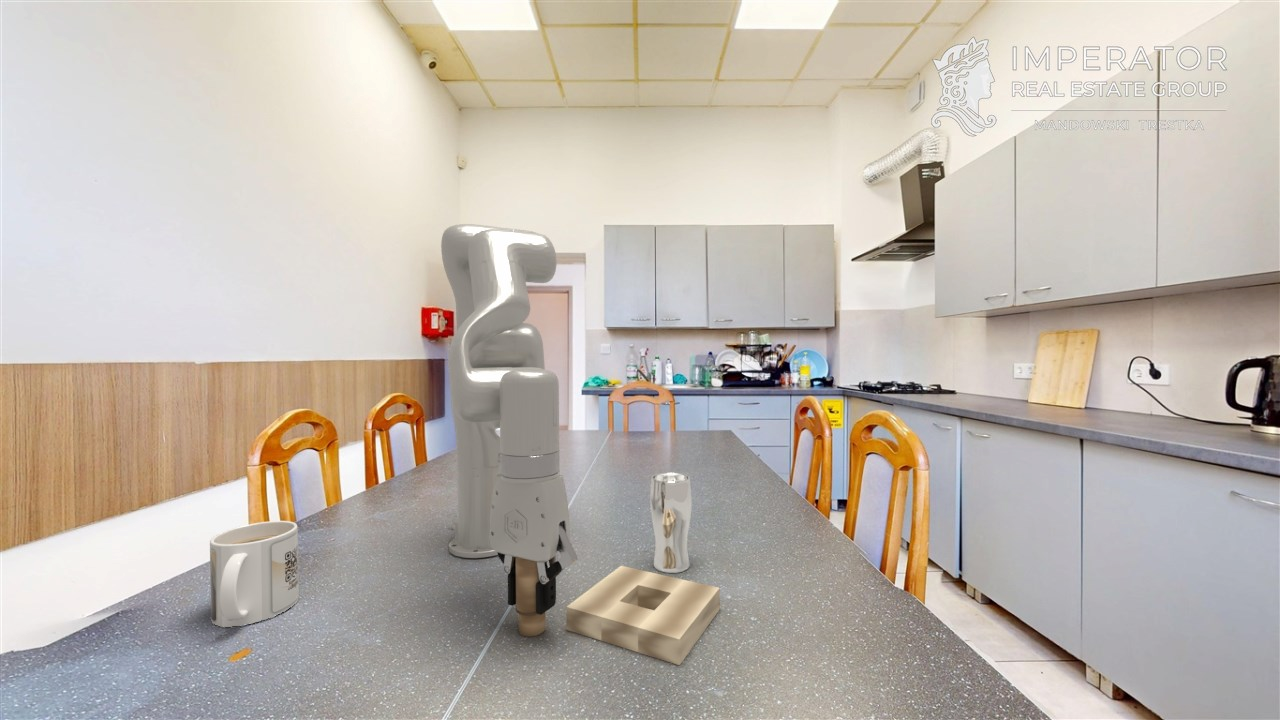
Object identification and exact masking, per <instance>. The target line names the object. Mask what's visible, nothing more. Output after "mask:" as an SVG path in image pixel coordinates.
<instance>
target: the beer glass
mask: <svg viewBox="0 0 1280 720" xmlns="http://www.w3.org/2000/svg"><path fill="white" fill-rule="evenodd" d="M650 478H651V479H650V480H651V481H650V495H649V497H650V498H649V499H650V501H649V503H650V504H649V505H650V506H649V507H650V508H649V509H650V513H651V514H650V517H651V522H652V528H653V533H654V540H655V549H654V550H655V551H654V557H653V558H654V559H653V567H654V569H656V570H657V571H659V572H661V573H667V574H679V573H682V572H685V571H687V570H688V569H689V568H690V560H689V559H690V558H689V554H688V537H689V529H690V524H691V523H690V522H691V518H692V517H691V516H692V488H691V477H690V476H689V475H688V474H686V473H682V472H681V473H680V472H661V473H656V474H653V475H651V477H650Z"/></svg>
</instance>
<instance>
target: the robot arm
mask: <svg viewBox="0 0 1280 720" xmlns="http://www.w3.org/2000/svg"><path fill="white" fill-rule="evenodd" d="M440 244H441V245H440V248H441V259H442V264H443V268H444V272H445V275H446V278H447V280H448V282H449V284H450V285H449V286H450V288H451V290H452V293H453V296H454V301H455V316H456V319H455V320H456V332H455V333H454V336H453V337H452V341H451V344H450V346H449V352H448V362H447V363H448V375H449V376H448V377H449V390H450V391H449V392H450V404H451V413H452V418H453V426H454V430H455V431H454V432H455V441H456V477H457V478H456V481H457V482H456V483H457V485H456V487H457V492H456V493H457V515H456V516H454V517H453V518H452V521H451V522H450V521H449V522H448V523H447V525H446V529H448V530H449V531H454V537H453V538H452V539H451V540H450V542H449V544H448V550H449V552H450V553H451V554H452V555H453V556H455V557H459V558H464V559H482V558H490V557H494V556H497V557H498V558H499V560H500V562H501V563H502V565H503V566H502V568H503V572H504V573H505V575H507V604H508V605H509V606H511V607H514V606H516V557H517V558H521V559H525V560H530V561H534V562H537V567H538V573H539V579H540V581H539V582H537V583H536V612H537V614H540V615H542V614H543V613H545V614H546V612H547V611H549V610H551V609H552V608H553V607H555V605H556V603H557V601H556V600H557V577H558V576H560V574H561V572H563V570H565V569H566V568H568V567H569V566H571V565H573V564H574V563H576V562H577V561H578V555H577V554H576V551H575V549H574V547H573V545H572V543H571V541H570V540H571V527H570V512H569V504H568V503H569V501H568V496H567V489H566V482H565V479H564V475H562V474H561V473H560V471H561V469H560V468H561V467H560V463H561V461H560V456H561V455H560V390H559V389H560V385H559V384H560V383H559V378H558V376H557V374H556V373H555V372H554V371H550V370H546V366H545V353H544V343H543V339H542V335H541V333H540V331H539V329H538V328H537V327H536V326H535V325H533V324H531V323H527V322H526V320H527V319H528V318H529V316H530V313H531V301H530V298H529V294H528V286H527V283H531V284H532V283H534V284H547V283H549V282H550V281H551V280H553V278H554V276H555V274H556V270H557V261H558V260H557V254H556V253H557V252H556V251H555V250H556V249H555V246H554V244H553V242H552V241H551V239H549V237H548V236H547V235H545V234H541V233H537V232H535V231H530V230H524V229H516V228H508V227H498V226H493V225H491V226H490V225H482V224H472V223H471V224H470V223H463V224H455V225H450V226H448V227H446V229H444V231H443V233H442V236H441V242H440ZM497 429H499V435H498V433H497V432H496V430H497ZM558 552H559V555H560V559H559V555H558ZM548 564H549V565H548ZM548 566H549V567H548Z"/></svg>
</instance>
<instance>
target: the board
mask: <svg viewBox="0 0 1280 720" xmlns="http://www.w3.org/2000/svg"><path fill="white" fill-rule="evenodd" d="M720 595H721V588H720V587H718V586H713V585H708V584H704V583H701V582H700V583H699V582H695V581H691V580H688V579H687V580H686V579H681V578H677V577H673V576H668V575H663V574H660V573H655V572H651V571H646V570H641V569H638V568H633V567H629V566H625V565H620V566H619V567H617V568H616V569H614V570H613V571H612V572H611V573H609V574H608V575H606V576H605V577H604V578H603V579H601V580H600V581H598V582H597V583H596V584H594V585H593V586H592V587H591V588H589V589H588V590H586V591H585V592H584V593H582V594H581V595H580V596H579V597H577V598H576V599H575V600H573V601H572V602H571V603H569V604H567V606H566V607H565V610H566V611H565V613H566V614H565V615H566V616H565V617H566V618H565V619H566V622H565V623H566V625H565V628H566V631H569V632H571V633H575V634H579V635H582V636H584V637H588V638H592V639H595V640H597V641H598V640H599V641H601V642H604V643H607V644H611V645H613V646H617V647H620V648H623V649H627V650H629V651H632V652H636V653H638V654H642V655H645V656H649V657H652V658H654V659H658V660H660V661H664V662H667V663H670V664H674V665H676V666H680V665H681V664H682V663H683V662H684V660H685V659H686V657H687V656H688V654H689V653H690V652H691V651H692V649H693V647H694V646H695V645H696V644H697V642H698V641H699V639H700V638H701V636H702V635H703V634H704V632H705V631H706V630H707V628H708V627H709V625H710V624H711V622H713V619H714V618H715V617H716V616H717V614H718V613H719V611H720V610H721V597H720Z"/></svg>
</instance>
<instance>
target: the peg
mask: <svg viewBox="0 0 1280 720" xmlns="http://www.w3.org/2000/svg"><path fill="white" fill-rule="evenodd" d="M539 581H540V579H539V573H538V567H537V562H534V561H530V560H525V559H521V558H517V557H516V604H515V612H516V613H517V614H518V633H519V634H520V635H521V636H523V637H528V638H530V637H536V636H538V635H541V634H543V632H544V631H545V630H546V612H545V613H543V614H542V615H540V614H537V612H536V583H537V582H539Z"/></svg>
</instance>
